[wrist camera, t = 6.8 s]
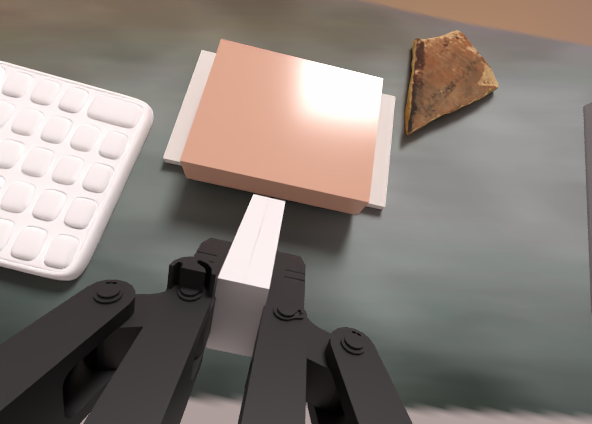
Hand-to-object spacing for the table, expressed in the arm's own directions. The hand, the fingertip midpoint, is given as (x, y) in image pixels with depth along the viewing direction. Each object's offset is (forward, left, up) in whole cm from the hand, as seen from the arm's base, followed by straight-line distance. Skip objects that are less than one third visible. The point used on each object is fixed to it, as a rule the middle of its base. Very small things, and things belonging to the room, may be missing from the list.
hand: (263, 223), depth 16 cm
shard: (-13, -18, -8) cm, 24 cm away
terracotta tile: (0, -4, -5) cm, 7 cm away
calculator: (+20, -3, -8) cm, 22 cm away
